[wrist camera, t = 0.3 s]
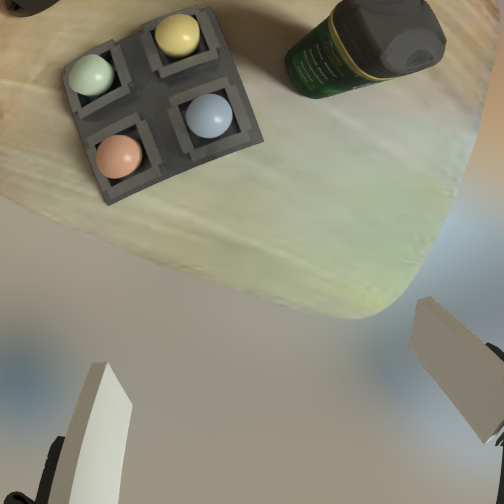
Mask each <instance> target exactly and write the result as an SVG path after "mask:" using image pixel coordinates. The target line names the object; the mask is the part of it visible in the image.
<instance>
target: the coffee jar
mask: <svg viewBox="0 0 504 504" xmlns="http://www.w3.org/2000/svg"><path fill="white" fill-rule="evenodd" d="M446 42H447V40H446V38H445V35H444V33H443V30H442V28H441V26H440V24H439V22H438V20H437V18H436V16H435V14H434V13H433V11H432V9H431V8H430V6H429V4H428V3H427V2H426V1H424V0H343V1H341V2H340V3H338V4H337V5H336V6H335V7H334V9H333V10H332V11H331V13H330V15H329V16H328V17H327V18H326V19H325V20H324V21H323V22H321V23H320V24H319V25H318V26H317V27H316V28H314V29H313V30H312V31H311V32H310V33H309V34H307V35H306V36H305V37H304V38H303V39H301V40H300V41H299V42H298V43H297V44H296V45H294V46H293V47H292V48H291V49H290V50H289V51H288V53H287V54H286V57H285V65H286V69H287V71H288V74H289V75H290V78H291V80H292V81H293V83H294V85H295V86H296V88H297V89H298V90H299V91H300V92H301V93H302V94H303V95H305V96H306V97H308V98H312V99H321V98H325V97H329V96H333V95H336V94H340V93H343V92H346V91H349V90H353V89H357V88H361V87H365V86H369V85H373V84H376V83H380V82H383V81H387V80H390V79H394V78H397V77H401V76H404V75H407V74H411V73H415V72H418V71H420V70H423V69H426V68H428V67H431V66H434V65H435V64H437V63H438V62H439V61H440V60H441V59H442V57H443V55H444V51H445V45H446Z"/></svg>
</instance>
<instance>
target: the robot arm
mask: <svg viewBox="0 0 504 504" xmlns="http://www.w3.org/2000/svg"><path fill="white" fill-rule="evenodd" d="M1 1H2V3H3V5H4V7H5V8H6V10H7V11H9V12H10V13H12V14H14V15H16V16H19V17H26V16H31V15H34V14H37V13H39V12H41V11H43V10H45V9H47V8H49V7H50V6H52V5H53V4H55V3H56V2H57V1H59V0H1ZM408 349H409V350H410V351H411V352H412V354H413V355H414V356H415V357H416V358H417V359H418V361H419V362H420V363H421V364H422V365H423V367H424V368H425V369H426V370H427V372H428V373H429V374H430V375H431V376H432V377H433V379H434V380H435V381H436V382H437V384H438V385H439V386H440V387H441V389H442V390H443V391H444V392H445V394H446V395H447V396H448V397H449V399H450V400H451V401H452V402H453V404H454V405H455V406H456V408H457V409H458V410H459V412H460V413H461V414H462V415H463V417H464V418H465V419H466V421H467V422H468V423H469V425H470V426H471V427H472V429H473V430H474V431H475V433H476V434H477V435H478V437H479V438H480V439H481V441H482V442H483V443H484V444H485V443H487V442H488V441H489V440H491V439H492V438H493V437H494V436H496V435H497V434H498V432H499V431H500V430H501V428H502V427H503V426H504V352H502V351H501V350H500V349H499V348H498V347H496V346H494V345H492V344H490V343H486V344H484V343H483V342H482V341H481V340H480V339H479V338H478V337H476V336H475V335H474V334H473V333H472V332H471V331H470V330H469V329H467V328H466V327H465V326H464V325H463V324H462V323H461V322H460V321H459V320H457V319H456V318H455V317H454V316H453V315H452V314H450V313H449V312H448V311H447V310H446V309H444V308H443V307H442V306H441V305H440V304H439V303H437V302H436V301H435V300H434V299H433V298H431V297H426V298H423V299H420V300H417V305H416V311H415V316H414V321H413V326H412V331H411V336H410V340H409V344H408ZM132 406H133V405H132V403H131V402H130V400H129V399H128V397H127V395H126V394H125V392H124V390H123V389H122V387H121V385H120V383H119V382H118V380H117V378H116V376H115V375H114V373H113V371H112V369H111V367H110V365H109V364H108V362H100V363H92V365H91V367H90V370H89V372H88V375H87V377H86V380H85V382H84V385H83V388H82V390H81V393H80V396H79V398H78V401H77V404H76V407H75V410H74V413H73V415H72V419H71V421H70V424H69V427H68V430H67V434H66V437H62V436H58V437H57V438H56V440H55V441H54V442H53V443H52V445H51V447H50V450H49V453H48V456H47V457H48V459H47V460H46V463H45V468H44V470H43V473H42V477H41V480H40V484H39V488H38V492H37V496H36V499H35V502H34V501H33V500H31V499H30V498H29V497H27V496H26V495H24V494H23V493H21V492H12V493H10V494H9V495H7V497H6V499H5V500H4V504H118V499H119V490H120V481H121V472H122V466H123V459H124V452H125V446H126V438H127V433H128V427H129V422H130V417H131V411H132ZM502 440H503V442H502V443H501V445H500V446H503V455H502V467H501V476H500V483H499V490H498V496H497V502H496V504H504V432H503V433H502V434H501V436H500V437H499V438H498V440H497V441H496V445H495V446H498V444H499V443H500V442H501V441H502Z"/></svg>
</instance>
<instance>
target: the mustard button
mask: <svg viewBox="0 0 504 504" xmlns="http://www.w3.org/2000/svg"><path fill="white" fill-rule="evenodd" d="M155 38H156V41H157V43H158V45H159V47H160V49H161V50H162V52H163V53H164V54H165V55H167V56H169V57H172V58H182V57H186V56H188V55H190V54H191V53H193V52H194V51H195V50H196V49H197V47H198V45H199V42H200V34H199V26H198V23H197V21H196V20H195V19H194V18H192V17H191V16H188V15H185V14H176V15H172V16H169V17H167V18H165V19H164V20H163V21H161V22H160V24H159V25H158V26H157V28H156V31H155Z"/></svg>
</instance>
